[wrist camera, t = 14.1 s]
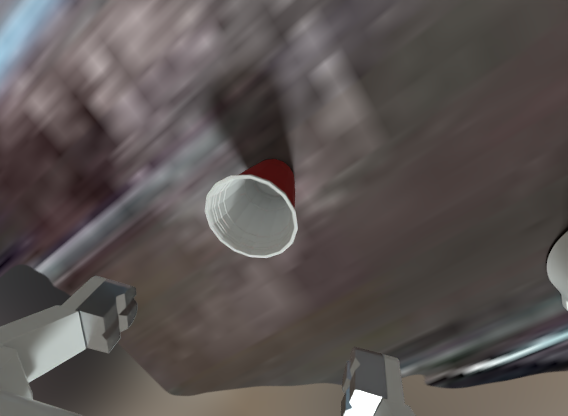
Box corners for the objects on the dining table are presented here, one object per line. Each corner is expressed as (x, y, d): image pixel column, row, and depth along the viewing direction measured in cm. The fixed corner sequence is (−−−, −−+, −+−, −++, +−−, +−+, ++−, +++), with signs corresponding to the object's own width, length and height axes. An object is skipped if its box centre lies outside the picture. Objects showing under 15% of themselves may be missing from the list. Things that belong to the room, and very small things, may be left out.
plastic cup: (221, 171, 48) (183, 210, 38) (275, 124, 43) (249, 154, 33) (270, 225, 51) (248, 275, 40) (327, 186, 46) (318, 232, 36)
